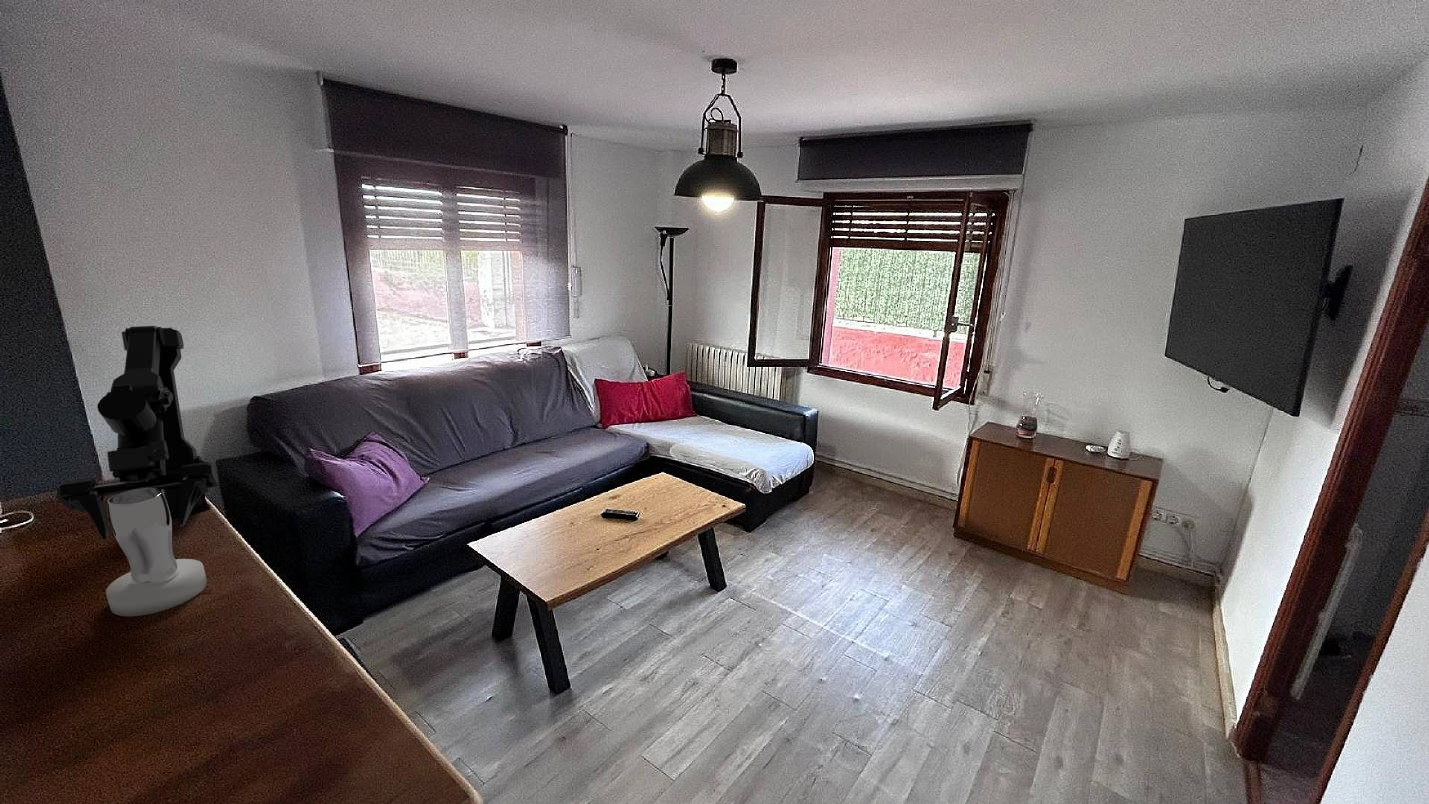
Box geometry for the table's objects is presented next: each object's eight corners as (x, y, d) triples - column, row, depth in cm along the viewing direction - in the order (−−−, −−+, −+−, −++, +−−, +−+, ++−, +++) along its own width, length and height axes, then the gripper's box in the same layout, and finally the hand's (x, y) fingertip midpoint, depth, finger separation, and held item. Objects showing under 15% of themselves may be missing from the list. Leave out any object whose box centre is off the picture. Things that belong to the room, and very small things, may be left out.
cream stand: (192, 566, 107) (189, 551, 106) (218, 589, 101) (214, 574, 100) (100, 597, 98) (96, 582, 97) (123, 626, 91) (118, 609, 90)
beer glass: (193, 564, 103) (174, 485, 98) (166, 587, 96) (145, 504, 92) (146, 567, 101) (125, 487, 97) (116, 590, 95) (92, 506, 90)
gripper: (42, 435, 90) (40, 530, 85) (201, 417, 101) (208, 501, 95) (70, 464, 99) (70, 553, 93) (215, 445, 109) (221, 524, 104)
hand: (144, 532), depth 96 cm, fingers open, 9 cm apart
